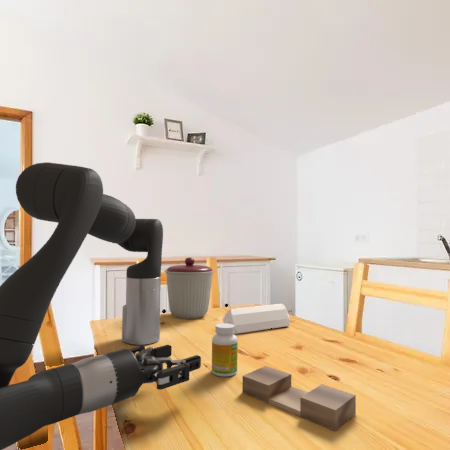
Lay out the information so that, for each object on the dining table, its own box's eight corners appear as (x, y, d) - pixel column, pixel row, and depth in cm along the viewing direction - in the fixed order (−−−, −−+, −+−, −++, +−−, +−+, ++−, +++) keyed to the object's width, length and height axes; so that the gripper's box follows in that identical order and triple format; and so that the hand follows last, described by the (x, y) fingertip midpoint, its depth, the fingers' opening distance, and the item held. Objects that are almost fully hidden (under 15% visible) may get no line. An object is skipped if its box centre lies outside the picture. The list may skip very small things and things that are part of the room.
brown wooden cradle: (335, 431, 51) (335, 410, 51) (242, 392, 63) (242, 375, 63) (355, 414, 56) (355, 395, 56) (265, 381, 68) (265, 365, 68)
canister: (186, 324, 112) (187, 259, 113) (153, 315, 125) (154, 257, 125) (224, 315, 125) (224, 257, 126) (191, 308, 138) (191, 255, 139)
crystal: (276, 309, 120) (215, 316, 108) (288, 302, 114) (225, 308, 102) (283, 330, 116) (221, 340, 104) (296, 324, 111) (231, 333, 99)
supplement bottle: (234, 378, 69) (235, 329, 70) (208, 376, 70) (209, 327, 71) (239, 368, 75) (239, 323, 75) (214, 366, 76) (215, 321, 76)
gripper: (127, 367, 48) (210, 343, 60) (82, 345, 58) (162, 328, 70) (126, 422, 48) (210, 387, 60) (81, 390, 58) (161, 365, 70)
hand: (184, 355), depth 65 cm, fingers open, 8 cm apart
